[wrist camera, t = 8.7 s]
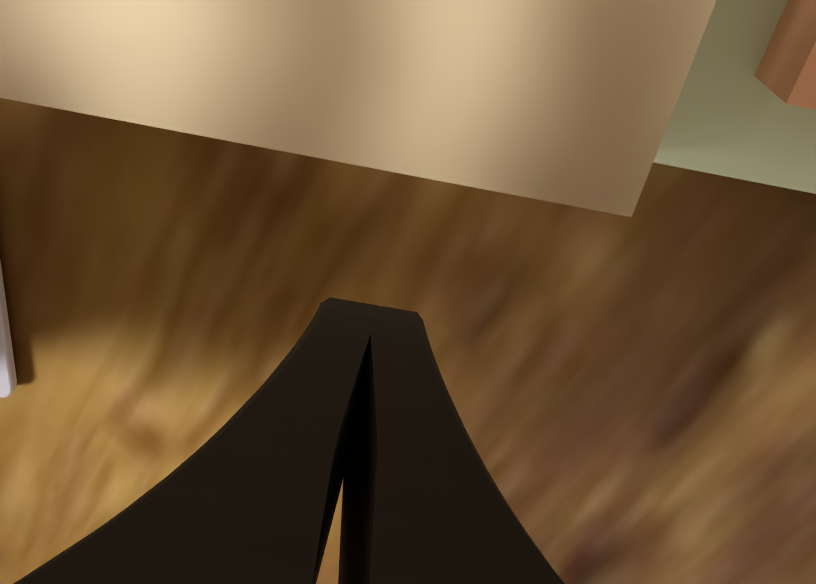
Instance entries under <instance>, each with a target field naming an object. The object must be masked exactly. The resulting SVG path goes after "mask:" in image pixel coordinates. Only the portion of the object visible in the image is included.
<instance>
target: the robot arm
mask: <svg viewBox="0 0 816 584" xmlns="http://www.w3.org/2000/svg"><path fill="white" fill-rule="evenodd" d="M16 387H17V378H16V371H15V364H14V357H13V349H12V342H11V335H10V327H9V320H8V313H7V305H6V298H5V291H4V283H3V276H2V269H1V261H0V397H4V398H5V397H7V396H10V394H11V393H12V392H13V391H14V389H15V388H16ZM342 481H343V496H342V516H341V537H340V558H339V579H338V584H565V583H564V582H563V581H562V580H561V578H560V577H559V576H558V575H557V574H556V572H555V571H554V570H553V568H552V567H551V566H550V564H549V563H548V561H547V560H546V559H545V557H544V556H543V555H542V553H541V552H540V550H539V549H538V548H537V546H536V545H535V543H534V542H533V541H532V539H531V538H530V536H529V535H528V534H527V532H526V531H525V529H524V528H523V526H522V525H521V523H520V522H519V520H518V519H517V517H516V516H515V514H514V513H513V511H512V510H511V508H510V507H509V505H508V504H507V502H506V500H505V499H504V497H503V496H502V494H501V492H500V491H499V489H498V487H497V486H496V484H495V482H494V481H493V479H492V477H491V476H490V474H489V472H488V470H487V469H486V467H485V465H484V463H483V461H482V460H481V458H480V456H479V454H478V452H477V450H476V449H475V447H474V445H473V443H472V441H471V439H470V437H469V435H468V433H467V431H466V429H465V427H464V425H463V423H462V421H461V419H460V417H459V415H458V412H457V410H456V408H455V406H454V404H453V402H452V399H451V397H450V395H449V393H448V391H447V388H446V386H445V384H444V381H443V379H442V376H441V374H440V371H439V369H438V366H437V363H436V361H435V358H434V355H433V352H432V350H431V347H430V344H429V340H428V337H427V334H426V330H425V326H424V322H423V320H422V318H421V317H420V316H419V314H418V313H417V312H412V311H406V310H400V309H395V308H389V307H383V306H377V305H374V306H373V305H371V304H365V303H359V302H353V301H347V300H341V299H336V298H329V299H327V300H325V301H324V302H322V303H321V304H320V306H319V308H318V310H317V312H316V314H315V316H314V317H313V319H312V321H311V322H310V324H309V326H308V327H307V329H306V330H305V332H304V333H303V334H302V336H301V337H300V339H299V340H298V341H297V343H296V344H295V345H294V347H293V348H292V350H291V351H290V352H289V353H288V355H287V356H286V357H285V358H284V359H283V361H282V362H281V363H280V364H279V366H278V367H277V368H276V369H275V370H274V372H273V373H272V374H271V375H270V377H269V378H268V379H267V380H266V381H265V383H264V384H263V385H262V386H261V387H260V388H259V389H258V390H257V391H256V393H255V394H254V395H253V396H252V397H251V398H250V399H249V400H248V401H247V402H246V403H245V404H244V405H243V406H242V407H241V408H240V409H239V410H238V411H237V412H236V413H235V414H234V415H233V417H232V418H231V419H230V420H229V421H228V422H227V423H226V424H225V425H224V426H223V427H222V428H221V429H220V430H219V431H218V432H217V433H215V434H214V435H213V436H212V437H211V438H210V439H209V440H208V441H207V442H206V443H205V444H204V445H203V446H202V447H200V448H199V449H198V450H197V451H196V452H195V453H194V454H193V455H191V456H190V457H189V458H188V459H187V460H186V461H184V462H183V463H182V464H181V465H180V466H179V467H178V468H176V469H175V470H174V471H173V472H172V473H170V474H169V475H168V476H167V477H166V478H164V479H163V480H162V481H160V482H159V483H158V484H157V485H155V486H154V487H153V488H152V489H150V490H149V491H148V492H146V493H145V494H144V495H143V496H141V497H140V498H139V499H137V500H136V501H135V502H134V503H132V504H131V505H130V506H128V507H127V508H126V509H124V510H123V511H122V512H120V513H119V514H118V515H116V516H115V517H114V518H112V519H111V520H109V521H108V522H107V523H105V524H104V525H102V526H101V527H100V528H98V529H97V530H95V531H94V532H92V533H91V534H89V535H88V536H86V537H85V538H83V539H82V540H80V541H79V542H77V543H75V544H74V545H72V546H71V547H69V548H68V549H66V550H65V551H63V552H62V553H60V554H59V555H57V556H56V557H54V558H52V559H51V560H49V561H48V562H46V563H45V564H43V565H42V566H40V567H39V568H37V569H36V570H34V571H32V572H31V573H29V574H28V575H26V576H25V577H23V578H22V579H20V580H19V581H17V582H15V583H14V584H316V582H317V578H318V574H319V570H320V566H321V562H322V559H323V555H324V551H325V547H326V543H327V539H328V535H329V532H330V528H331V524H332V520H333V516H334V512H335V508H336V504H337V501H338V497H339V493H340V489H341V485H342Z"/></svg>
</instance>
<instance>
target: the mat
mask: <svg viewBox="0 0 816 584" xmlns="http://www.w3.org/2000/svg"><path fill="white" fill-rule="evenodd" d="M787 1H788V0H717V1H716V3H715V6H714V8H713V11H712V13H711V16H710V18H709V21H708V23H707V26H706V29H705V31H704V34H703V36H702V39H701V41H700V44H699V46H698V49H697V52H696V54H695V57H694V59H693V62H692V64H691V67H690V69H689V72H688V75H687V77H686V80H685V82H684V85H683V87H682V90H681V92H680V95H679V97H678V100H677V103H676V105H675V108H674V110H673V113H672V115H671V118H670V120H669V123H668V126H667V128H666V131H665V133H664V136H663V138H662V141H661V143H660V146H659V149H658V151H657V154H656V156H655V159H654V161H653V162H654V163H659V164H664V165H670V166H675V167H680V168H685V169H690V170H695V171H701V172H706V173H711V174H716V175H721V176H726V177H731V178H737V179H742V180H747V181H752V182H757V183H762V184H767V185H773V186H778V187H783V188H788V189H793V190H798V191H804V192H809V193H814V194H816V110H815V109H810V108H805V107H800V106H795V105H790V104H786V103H785V102H783V101H782V100H781V99H780V98H779V97H778V96H777V95H775V94H774V93H773V92H772V91H771V90H770V89H769V88H768V87H766V86H765V85H764V84H763V83H762V82H761V81H760V80H758V79H757V78H756V77H755V73H756V71H757V69H758V67H759V64H760V62H761V60H762V58H763V55H764V53H765V51H766V49H767V46H768V44H769V42H770V39H771V37H772V35H773V33H774V30H775V28H776V26H777V24H778V21H779V19H780V17H781V15H782V12H783V10H784V8H785V6H786V3H787Z"/></svg>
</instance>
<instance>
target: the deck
mask: <svg viewBox="0 0 816 584" xmlns="http://www.w3.org/2000/svg"><path fill="white" fill-rule="evenodd" d="M716 1H717V0H0V98H4V99H9V100H15V101H20V102H25V103H30V104H36V105H41V106H46V107H52V108H57V109H62V110H67V111H73V112H78V113H83V114H88V115H94V116H99V117H104V118H110V119H115V120H120V121H125V122H131V123H136V124H141V125H147V126H152V127H157V128H162V129H168V130H173V131H178V132H184V133H189V134H194V135H199V136H205V137H210V138H215V139H221V140H226V141H231V142H236V143H242V144H247V145H252V146H258V147H263V148H268V149H273V150H279V151H284V152H289V153H295V154H300V155H305V156H310V157H316V158H321V159H326V160H332V161H337V162H342V163H347V164H353V165H358V166H363V167H369V168H374V169H379V170H384V171H390V172H395V173H400V174H406V175H411V176H416V177H421V178H427V179H432V180H437V181H443V182H448V183H453V184H458V185H464V186H469V187H474V188H480V189H485V190H490V191H495V192H501V193H506V194H511V195H516V196H522V197H527V198H532V199H538V200H543V201H548V202H553V203H559V204H564V205H569V206H575V207H580V208H585V209H590V210H596V211H601V212H606V213H612V214H617V215H622V216H627V217H632V215H633V212H634V210H635V207H636V205H637V202H638V200H639V197H640V194H641V192H642V189H643V187H644V184H645V182H646V179H647V177H648V174H649V171H650V169H651V166H652V164H653V161H654V159H655V156H656V154H657V151H658V149H659V146H660V143H661V141H662V138H663V136H664V133H665V131H666V128H667V126H668V123H669V120H670V118H671V115H672V113H673V110H674V108H675V105H676V103H677V100H678V97H679V95H680V92H681V90H682V87H683V85H684V82H685V80H686V77H687V75H688V72H689V69H690V67H691V64H692V62H693V59H694V57H695V54H696V52H697V49H698V46H699V44H700V41H701V39H702V36H703V34H704V31H705V29H706V26H707V23H708V21H709V18H710V16H711V13H712V11H713V8H714V6H715V3H716Z"/></svg>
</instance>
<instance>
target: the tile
mask: <svg viewBox="0 0 816 584" xmlns="http://www.w3.org/2000/svg"><path fill="white" fill-rule="evenodd" d="M755 77H756V78H757V79H758V80H760V81H761V82H762V83H763V84H764V85H765V86H766V87H768V88H769V89H770V90H771V91H772V92H773V93H774V94H775V95H777V96H778V97H779V98H780V99H781V100H782V101H783V102H785V103H786V104H790V105H795V106H800V107H805V108H810V109H815V110H816V0H788V1H787V3H786V6H785V8H784V10H783V12H782V15H781V17H780V19H779V21H778V24H777V26H776V28H775V30H774V33H773V35H772V37H771V39H770V42H769V44H768V46H767V49H766V51H765V53H764V55H763V58H762V60H761V62H760V64H759V67H758V69H757V71H756V73H755Z"/></svg>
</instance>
